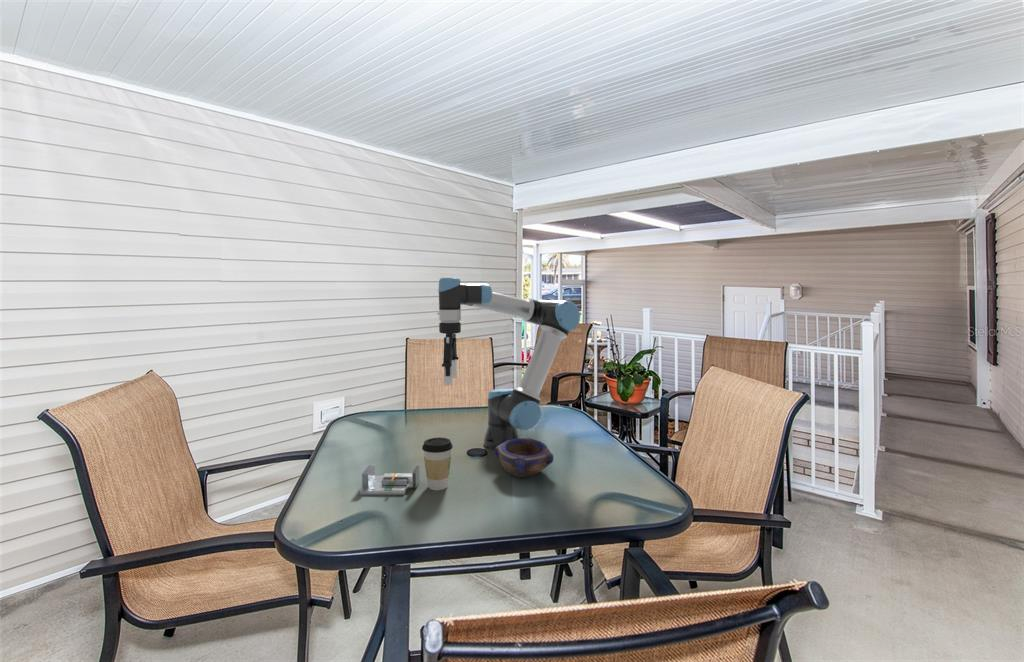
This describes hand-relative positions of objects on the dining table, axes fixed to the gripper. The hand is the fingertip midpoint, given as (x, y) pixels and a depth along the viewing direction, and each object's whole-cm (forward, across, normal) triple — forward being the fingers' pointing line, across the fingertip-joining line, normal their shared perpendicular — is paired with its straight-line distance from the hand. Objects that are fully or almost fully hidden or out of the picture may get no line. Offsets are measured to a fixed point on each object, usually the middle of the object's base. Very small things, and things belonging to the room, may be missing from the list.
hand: (450, 381), depth 163 cm
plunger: (+31, +17, -15) cm, 38 cm away
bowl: (+32, +5, +26) cm, 41 cm away
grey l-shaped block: (+32, +16, -19) cm, 40 cm away
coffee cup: (+32, +16, -3) cm, 36 cm away
